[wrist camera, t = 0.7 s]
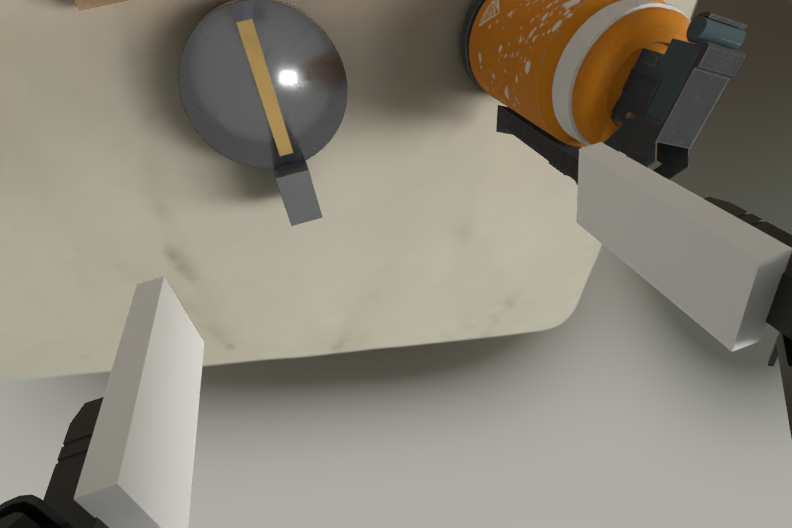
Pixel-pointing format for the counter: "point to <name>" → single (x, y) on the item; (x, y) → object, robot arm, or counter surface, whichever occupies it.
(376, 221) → the counter surface
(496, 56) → the canister
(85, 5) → the brown piece
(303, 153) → the turntable
